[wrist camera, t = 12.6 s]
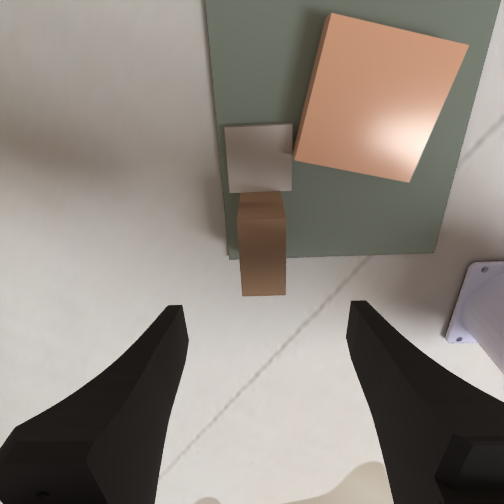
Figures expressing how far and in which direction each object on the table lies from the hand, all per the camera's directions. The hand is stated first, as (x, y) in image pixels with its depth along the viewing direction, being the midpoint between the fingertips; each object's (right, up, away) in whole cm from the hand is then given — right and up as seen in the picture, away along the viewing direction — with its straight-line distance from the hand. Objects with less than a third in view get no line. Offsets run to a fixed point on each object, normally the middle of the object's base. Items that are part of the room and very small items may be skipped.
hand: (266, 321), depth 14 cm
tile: (+5, +8, +6) cm, 11 cm away
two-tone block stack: (0, +7, +8) cm, 10 cm away
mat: (+5, +10, +6) cm, 13 cm away
